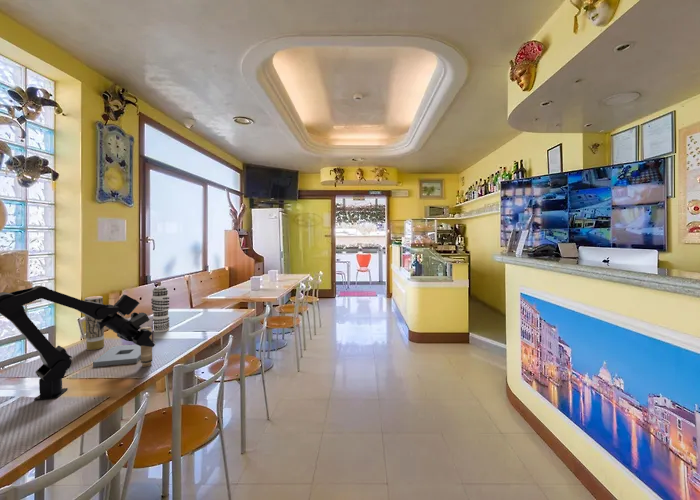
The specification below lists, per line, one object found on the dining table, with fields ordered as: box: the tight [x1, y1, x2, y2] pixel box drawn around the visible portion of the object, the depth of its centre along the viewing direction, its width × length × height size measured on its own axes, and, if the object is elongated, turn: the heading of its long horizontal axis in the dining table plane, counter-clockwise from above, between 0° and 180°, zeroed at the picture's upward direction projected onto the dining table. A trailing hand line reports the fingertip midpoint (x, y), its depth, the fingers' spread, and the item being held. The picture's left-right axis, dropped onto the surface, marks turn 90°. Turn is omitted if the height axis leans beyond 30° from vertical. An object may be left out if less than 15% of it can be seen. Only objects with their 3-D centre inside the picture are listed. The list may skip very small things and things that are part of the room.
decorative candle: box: [150, 286, 171, 333], centre depth 185 cm, size 9×9×25 cm
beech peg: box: [139, 326, 153, 368], centre depth 135 cm, size 4×4×16 cm
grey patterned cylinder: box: [84, 295, 105, 351], centre depth 155 cm, size 7×7×25 cm
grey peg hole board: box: [92, 344, 141, 368], centre depth 146 cm, size 20×16×2 cm
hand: (149, 344), depth 136 cm, fingers open, 7 cm apart
